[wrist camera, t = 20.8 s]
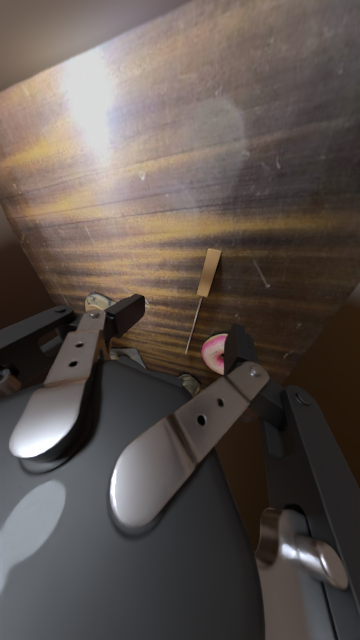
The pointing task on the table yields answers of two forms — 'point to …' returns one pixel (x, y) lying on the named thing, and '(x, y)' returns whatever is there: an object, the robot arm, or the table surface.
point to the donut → (214, 352)
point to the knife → (206, 278)
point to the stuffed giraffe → (126, 354)
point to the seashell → (191, 384)
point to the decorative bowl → (97, 302)
